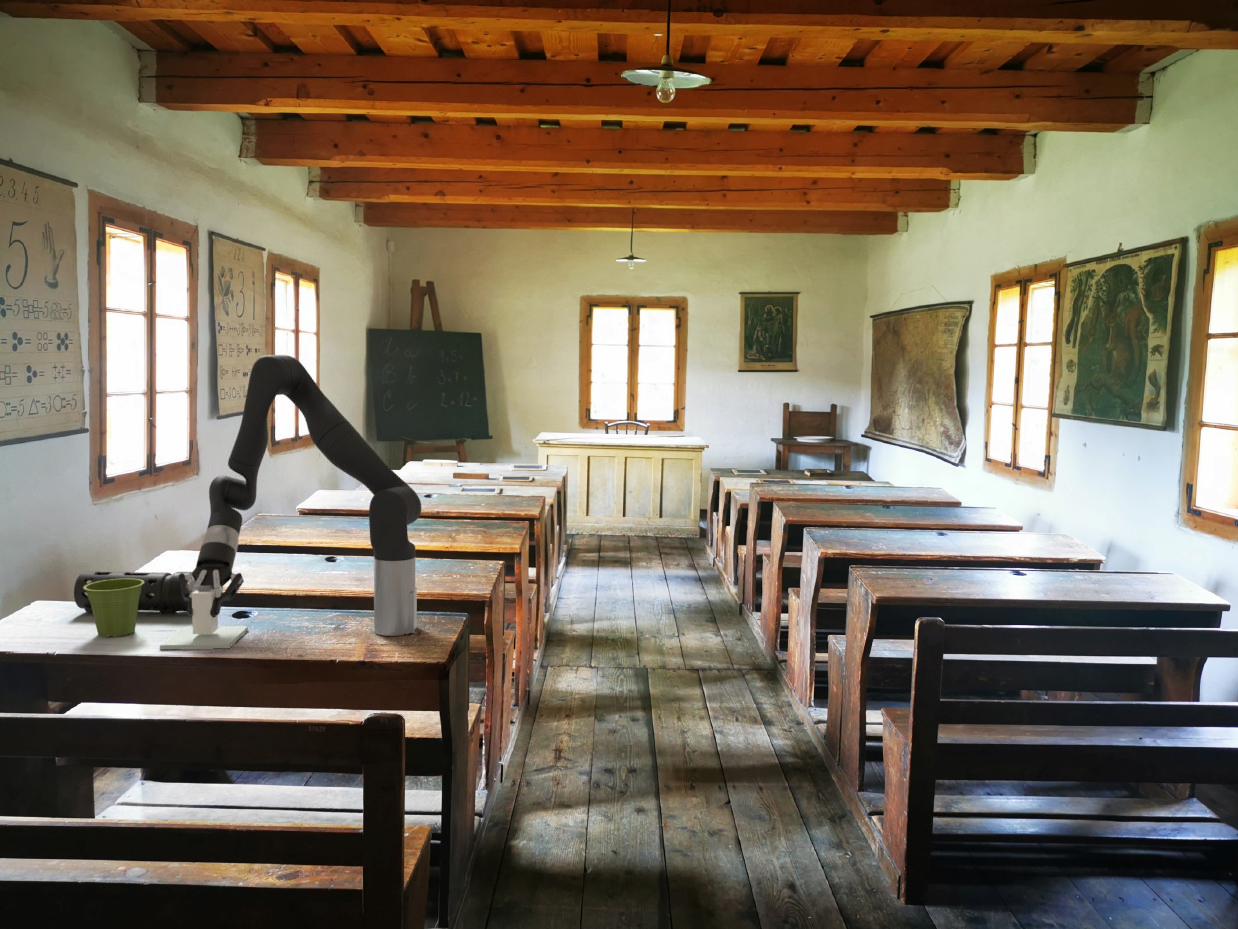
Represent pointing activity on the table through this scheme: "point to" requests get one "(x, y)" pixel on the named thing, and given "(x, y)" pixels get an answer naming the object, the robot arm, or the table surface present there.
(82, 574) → the muzzle brake
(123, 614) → the plant pot
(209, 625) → the plug block
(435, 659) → the table surface
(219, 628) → the board
